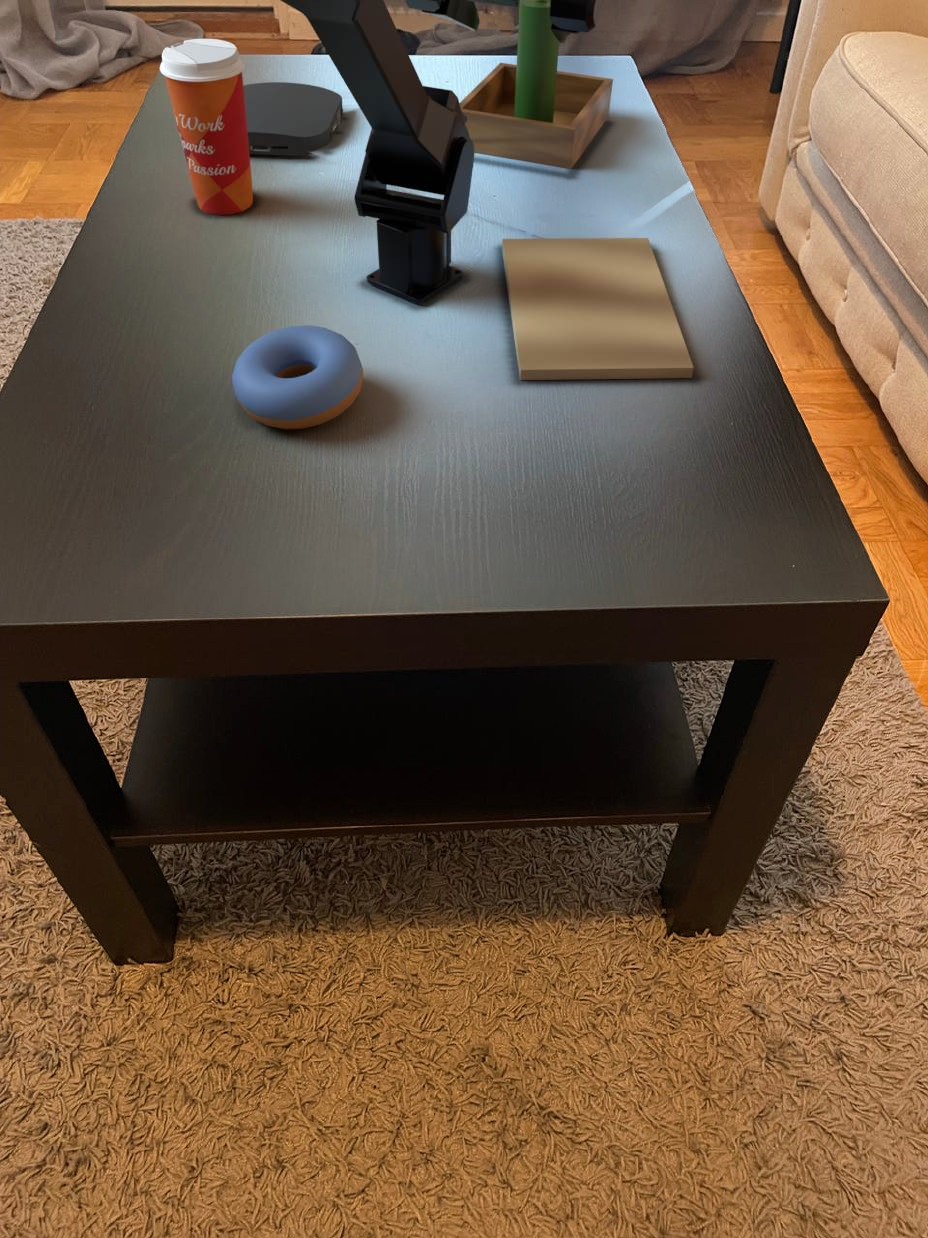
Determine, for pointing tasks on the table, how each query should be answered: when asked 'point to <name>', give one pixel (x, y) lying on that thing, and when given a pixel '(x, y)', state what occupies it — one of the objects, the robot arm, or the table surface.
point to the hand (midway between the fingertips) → (520, 31)
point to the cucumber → (536, 62)
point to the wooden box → (529, 140)
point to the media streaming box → (290, 117)
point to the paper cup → (211, 121)
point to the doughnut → (304, 398)
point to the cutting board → (591, 310)
